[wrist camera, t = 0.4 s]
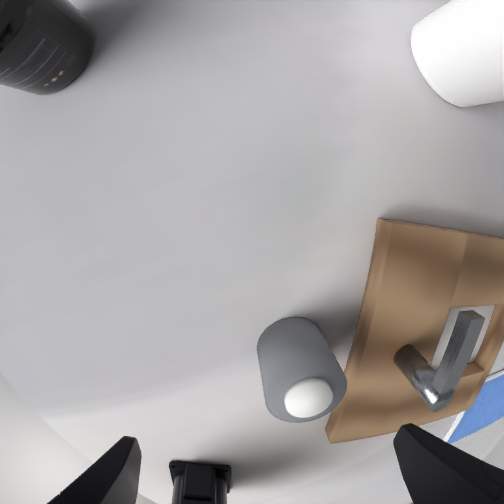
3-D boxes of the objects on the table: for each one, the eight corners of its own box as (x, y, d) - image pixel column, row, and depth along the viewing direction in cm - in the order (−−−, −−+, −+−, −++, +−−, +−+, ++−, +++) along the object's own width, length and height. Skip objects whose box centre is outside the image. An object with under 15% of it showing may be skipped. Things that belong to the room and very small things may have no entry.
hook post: (410, 364, 20) (447, 408, 14) (390, 366, 20) (426, 414, 14) (435, 284, 19) (487, 318, 13) (415, 283, 18) (468, 320, 13)
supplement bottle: (20, 56, 14) (-75, 18, 2) (85, 5, 13) (10, -72, 2) (36, 115, 15) (-85, 94, 4) (109, 59, 15) (9, -22, 3)
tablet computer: (437, 443, 29) (441, 449, 27) (473, 378, 26) (479, 383, 24) (509, 408, 30) (513, 411, 29) (539, 349, 27) (543, 352, 26)
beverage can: (482, 68, 16) (576, 47, 5) (463, 127, 18) (580, 122, 6) (420, 7, 15) (506, -47, 3) (392, 60, 16) (505, 0, 5)
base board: (462, 399, 26) (470, 408, 24) (325, 429, 24) (330, 443, 22) (518, 241, 21) (531, 245, 19) (377, 218, 19) (391, 223, 17)
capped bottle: (316, 371, 22) (338, 425, 16) (254, 372, 22) (261, 430, 16) (328, 317, 21) (360, 365, 15) (260, 316, 20) (271, 369, 14)
